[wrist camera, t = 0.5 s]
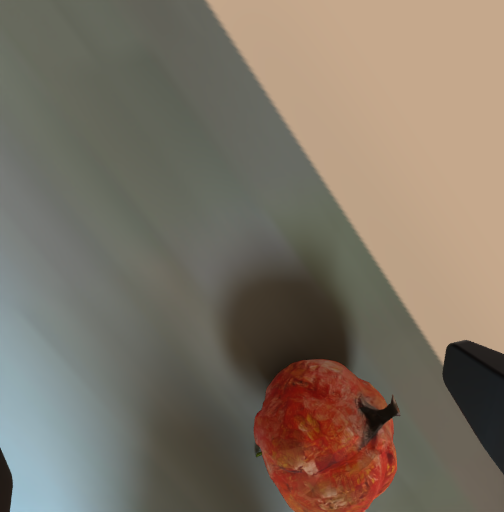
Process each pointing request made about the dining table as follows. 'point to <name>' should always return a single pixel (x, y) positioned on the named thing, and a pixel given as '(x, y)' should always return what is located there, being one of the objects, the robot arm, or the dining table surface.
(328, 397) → the pomegranate
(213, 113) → the dining table surface
